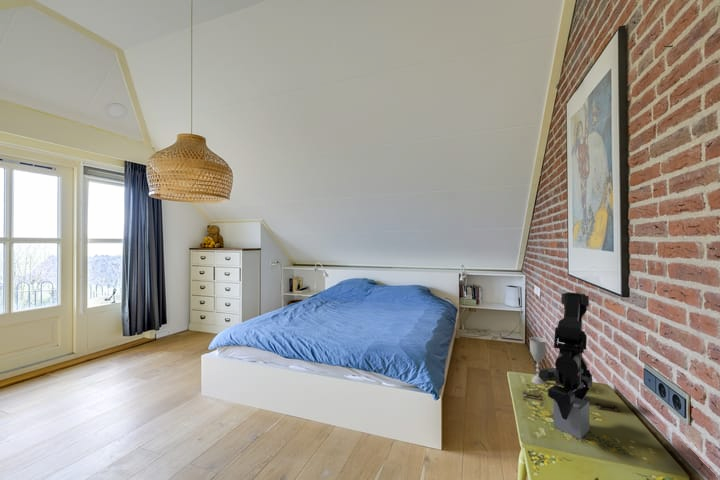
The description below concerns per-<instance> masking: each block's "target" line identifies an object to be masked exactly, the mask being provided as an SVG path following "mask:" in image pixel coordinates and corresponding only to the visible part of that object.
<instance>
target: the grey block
mask: <svg viewBox="0 0 720 480" xmlns="http://www.w3.org/2000/svg"><path fill="white" fill-rule="evenodd" d="M574 401H575V402H574V405H573V407H572V409H571V411H570V414H569V416H568V418H567V420H565V419H563V418H562V416H561V413H560V410H559V407H558V404H557V402H556V401H555V400H554V399H553V428H554V429H557V430H559V431H562V432H564V433H567V435H568V434H569V435H571V436H572V437H574V438H578V439H580V440H581V439H582V438H584V436H585V435H587V433H589V431H590V430H591V429H590V428H591V426H590V401H589V400H588V401H585V400H582V399H579V398H576V397H575V398H574Z"/></svg>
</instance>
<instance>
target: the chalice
mask: <svg viewBox="0 0 720 480" xmlns="http://www.w3.org/2000/svg"><path fill="white" fill-rule="evenodd" d="M528 340H529V351H530V354H531V356H532V358H533V360H534V361H535V362H536V365H535V367H536V369H535V372H536V374H535V376H534V375H533V377H532V378H531V380H530V381H531V382H532V383H533V384H535V385H540V386H544V385H546V382H543V380H542V379H541V378H539V372H540V370H541V369H540V368H541V365H540V363H541V362H542V361H543V360H544V358H545V355H546V353H547V342H548V340H547V339H546V338H543V337H538V336H530V337H528ZM543 384H544V385H543Z"/></svg>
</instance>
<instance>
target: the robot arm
mask: <svg viewBox="0 0 720 480" xmlns="http://www.w3.org/2000/svg"><path fill="white" fill-rule="evenodd" d="M560 300H561V305H563V309H564V311H563V312H564V314H563V318H562V319H560V320H558V322H557V326H556V327H555V331H554V341H553V349H558V355H557V357H556V359H555V362H554V364H555V367H552V368H550V367H548V368H541V369H539V370H540V372H539V378H541V379H542V380H543V382H545V383H546V382H555V384H554V385H553V386H551V387H550V388H548V389H547V397H548V398H551V399H552V400H553V401H554V400H555V401H556V402H557V404H558V407H559V410H560V413H561V416H562V418H563V419H565V420H567V418H568V416H569V414H570V411H571V409H572V407H573V405H574V402H575V401H574V398H575V397H576V398H579V399H582V400H585V401H588V402H589V400H590V397H589V396H587V395H588V393H589V392H590V390H591V389H590V388H592V386H593V375H592V373H591V372H590V369H588V363H587V361H586V360H585V358H584V356H583V354H584V353H585V350H587V341H588V340H587V338H588V337H587V334H586V331H584V330H583V317H584V315H585V314H586V313H587V311H588V307H590V295H586V293H581V292H571V291H569V292H568V291H567V292H565V293H561V299H560ZM560 385H561V386H560Z"/></svg>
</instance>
